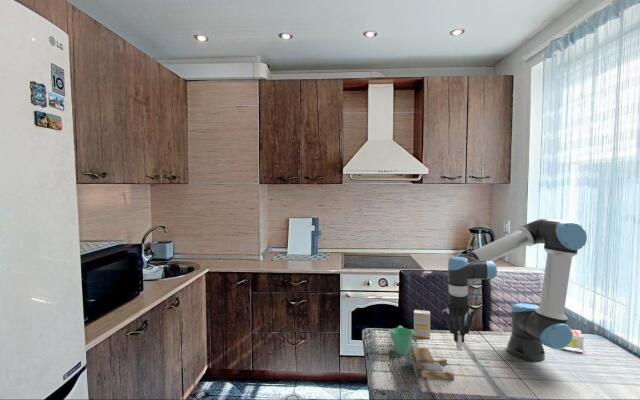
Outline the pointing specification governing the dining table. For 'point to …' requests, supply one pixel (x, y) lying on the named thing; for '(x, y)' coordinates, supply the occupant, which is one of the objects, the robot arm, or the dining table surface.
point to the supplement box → (422, 324)
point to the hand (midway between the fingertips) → (459, 349)
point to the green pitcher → (402, 339)
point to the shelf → (436, 373)
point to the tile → (431, 366)
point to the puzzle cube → (576, 340)
